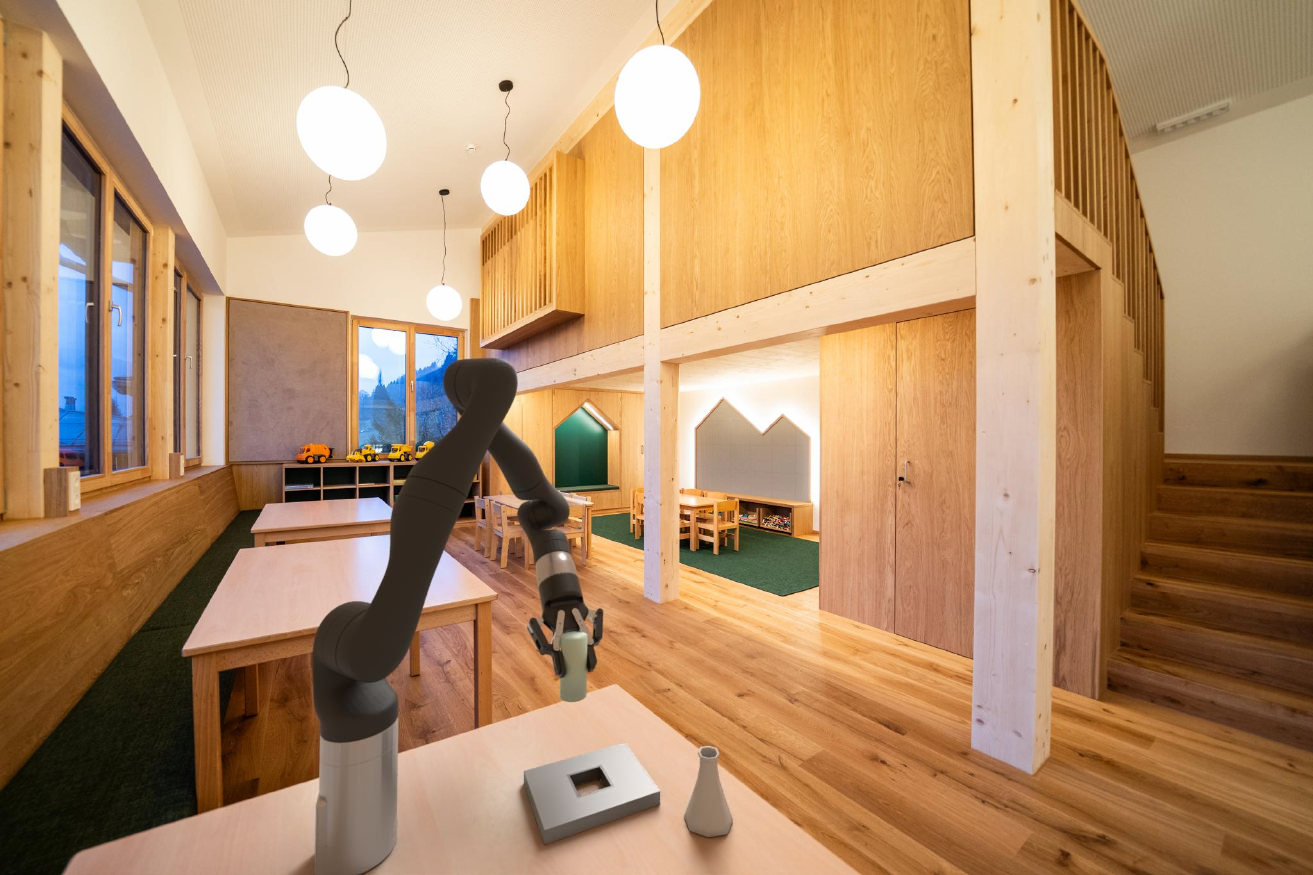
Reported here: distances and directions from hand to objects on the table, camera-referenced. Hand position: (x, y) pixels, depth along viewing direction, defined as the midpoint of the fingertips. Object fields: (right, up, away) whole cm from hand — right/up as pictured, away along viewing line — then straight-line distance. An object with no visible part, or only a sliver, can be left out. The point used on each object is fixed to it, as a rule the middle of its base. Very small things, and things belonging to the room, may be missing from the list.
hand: (577, 672), depth 82 cm
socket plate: (+2, -18, -3) cm, 18 cm away
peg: (-1, -5, +2) cm, 5 cm away
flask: (+21, -18, -9) cm, 29 cm away
